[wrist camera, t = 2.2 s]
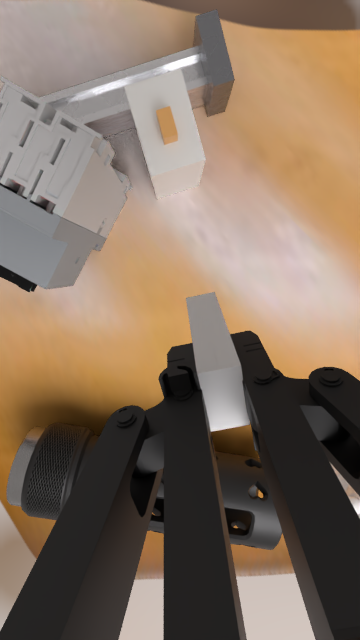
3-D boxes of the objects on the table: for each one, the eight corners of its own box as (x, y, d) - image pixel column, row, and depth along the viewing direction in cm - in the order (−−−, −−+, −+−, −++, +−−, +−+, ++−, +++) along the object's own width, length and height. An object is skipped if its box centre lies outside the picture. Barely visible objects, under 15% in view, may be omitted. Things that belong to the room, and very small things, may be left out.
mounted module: (179, 118, 36) (181, 57, 26) (198, 186, 37) (207, 153, 27) (136, 132, 36) (121, 76, 26) (156, 199, 37) (149, 171, 27)
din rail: (209, 53, 35) (216, 9, 29) (224, 111, 36) (234, 79, 30) (-50, 137, 36) (-95, 111, 30) (-29, 192, 37) (-69, 176, 31)
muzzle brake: (250, 504, 43) (273, 576, 33) (40, 471, 42) (-3, 535, 32) (265, 439, 42) (294, 493, 32) (49, 403, 41) (7, 446, 31)
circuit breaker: (19, 265, 38) (-81, 262, 23) (73, 153, 36) (2, 71, 22) (76, 296, 39) (15, 312, 24) (132, 187, 37) (103, 131, 22)
